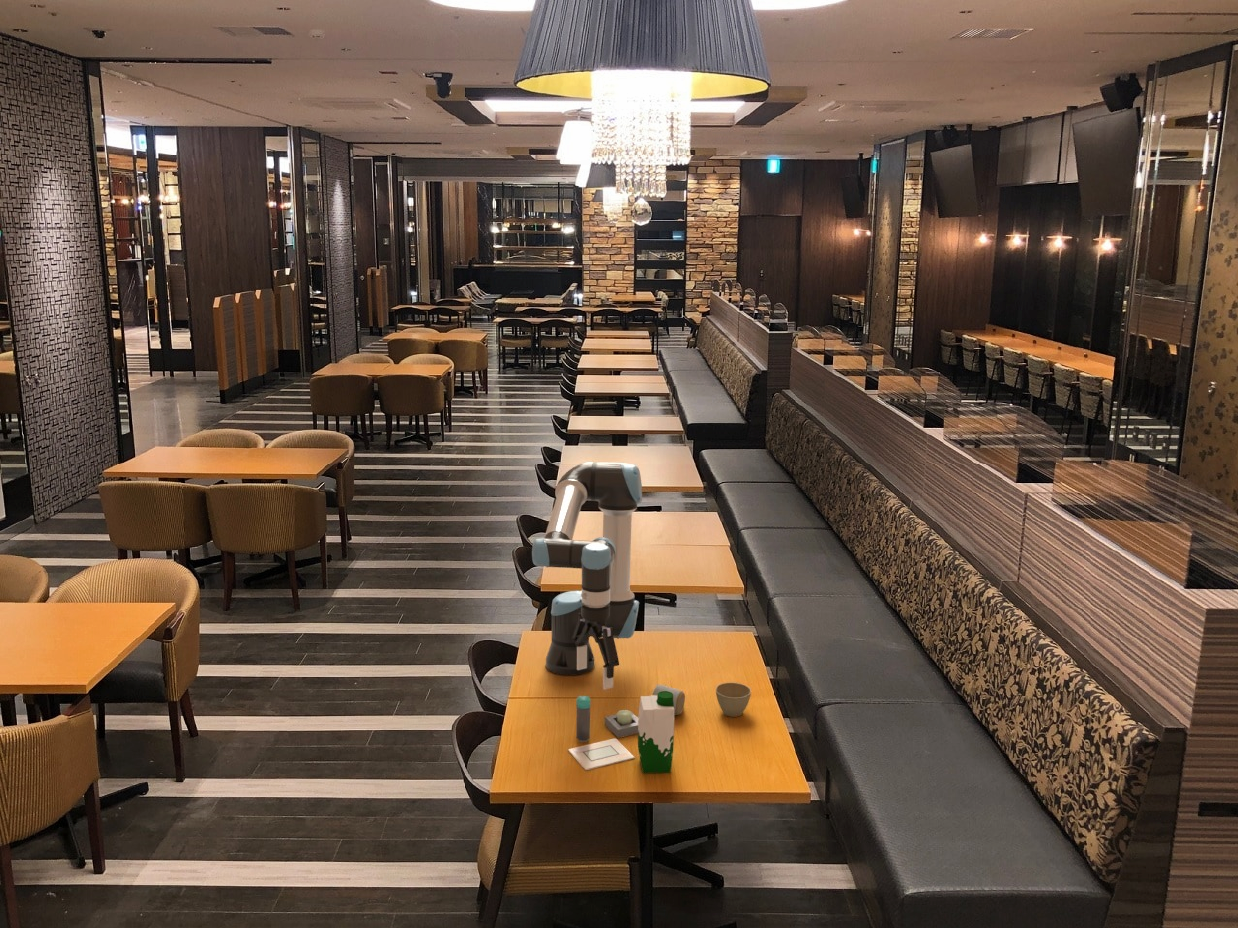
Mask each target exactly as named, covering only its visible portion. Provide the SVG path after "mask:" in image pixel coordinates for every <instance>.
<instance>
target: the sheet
mask: <svg viewBox="0 0 1238 928" xmlns="http://www.w3.org/2000/svg"><path fill="white" fill-rule="evenodd" d="M567 751H568V752H569V754H570V755H571V756H572V757H573V758H574V759H575V760H576V762H578V763H577V764H579V765H580V766H581V767H582V768H583V769H584V770H585V771H589V770H590V771H591V770H594V769H598V768H601V767H607V766H610V765H613V764H619V763H623V762H626V761H630V760H634V759H635V756H634V755H633V754H632V753H631V752H630V751H629V750H628V749H627V748H626V747H625V746H624V745H623V744H622V743H621V742H620V741H619V740H618V739H617V738H616V737H614V738H611V739H605V740H602V741H597V742H594V743H589V744H585V745H581V746H576V747H572V748H569V749H567Z"/></svg>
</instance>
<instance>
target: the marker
mask: <svg viewBox="0 0 1238 928" xmlns="http://www.w3.org/2000/svg"><path fill="white" fill-rule="evenodd" d="M575 735H576V737H575V738H576V739H577V741H578V742H580V743H586V742H588V741H589V739H590V737H591V698H590V697H589V696H587V695H579V696H578V697H576V734H575Z"/></svg>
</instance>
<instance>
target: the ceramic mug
mask: <svg viewBox="0 0 1238 928" xmlns="http://www.w3.org/2000/svg"><path fill="white" fill-rule="evenodd" d="M662 691H668V692H671V693H673V701H674V716H679V715H681V713H682V712H683V710H684V706H685V698H686V696H685V693H684V691H682V690H680V689H677V688H674V687H670V686H666V685H663V684H660V683H659V684H657V685H655V687H654V689H653V691H652V695H655V696H657V695H658V693H659V692H662Z"/></svg>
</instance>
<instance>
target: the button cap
mask: <svg viewBox="0 0 1238 928" xmlns="http://www.w3.org/2000/svg"><path fill="white" fill-rule="evenodd" d="M632 713H633V712H632V711H630V710H628V709H622V710H621V709H620V710H618V711H617V713H616V714H617V723H618V724H619V725H620V726H623V725H627V724H631V723H632Z"/></svg>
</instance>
